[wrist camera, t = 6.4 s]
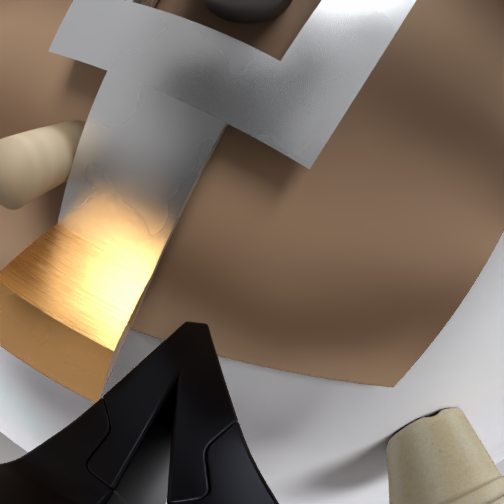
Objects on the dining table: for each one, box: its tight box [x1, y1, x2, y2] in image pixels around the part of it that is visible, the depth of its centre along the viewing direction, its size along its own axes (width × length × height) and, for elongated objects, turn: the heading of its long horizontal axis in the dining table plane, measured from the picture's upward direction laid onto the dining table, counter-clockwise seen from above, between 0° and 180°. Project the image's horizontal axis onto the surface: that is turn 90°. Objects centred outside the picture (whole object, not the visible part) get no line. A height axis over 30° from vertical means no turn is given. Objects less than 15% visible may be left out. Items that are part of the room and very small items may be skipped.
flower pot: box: [386, 408, 504, 504], centre depth 12 cm, size 9×9×9 cm
